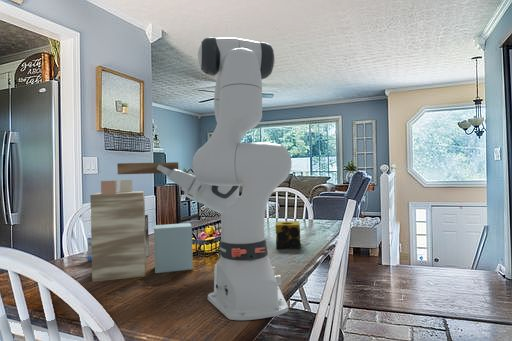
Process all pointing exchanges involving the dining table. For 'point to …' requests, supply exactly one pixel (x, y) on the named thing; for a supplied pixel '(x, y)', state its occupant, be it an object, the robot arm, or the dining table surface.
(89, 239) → the medicine box
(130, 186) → the cream block
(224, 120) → the robot arm
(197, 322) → the dining table surface
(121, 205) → the grey wood block
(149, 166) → the rail
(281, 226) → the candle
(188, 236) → the step
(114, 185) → the terracotta block
